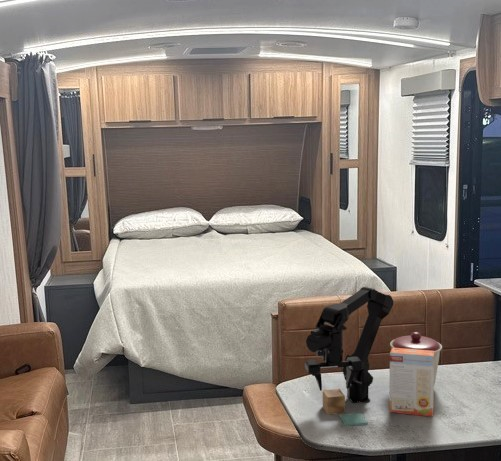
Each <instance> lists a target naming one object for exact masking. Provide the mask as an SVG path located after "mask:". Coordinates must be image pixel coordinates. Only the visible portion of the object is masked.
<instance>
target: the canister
mask: <svg viewBox="0 0 501 461" xmlns="http://www.w3.org/2000/svg"><path fill="white" fill-rule="evenodd" d="M389 345H390V348H391V349H392V348H404V349H417V350H429V351H434V386H436V385H435V384H436V379H437V375H438V374H437V373H438V368H439V360H440V354H441V351H442V349H443V345H442V344H441V343H440V342H439V341H437V340H435V339H433V338H431V337H427V336H424V335H423V336H422V334H421V333H420V332H419V331H413V332H412V333H411V334H410V335H403V336H398V337H396V338H394V339H393V340H391V341H390V343H389Z"/></svg>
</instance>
